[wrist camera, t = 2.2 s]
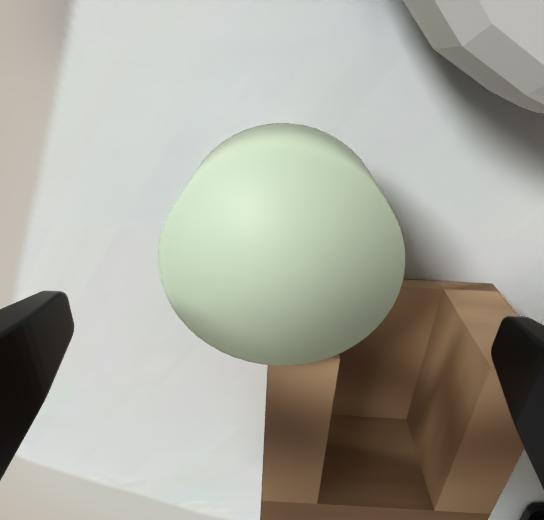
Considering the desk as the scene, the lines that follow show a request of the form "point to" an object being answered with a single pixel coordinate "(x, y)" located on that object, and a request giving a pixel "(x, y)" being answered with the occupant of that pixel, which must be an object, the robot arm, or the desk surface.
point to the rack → (396, 417)
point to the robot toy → (490, 43)
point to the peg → (282, 248)
